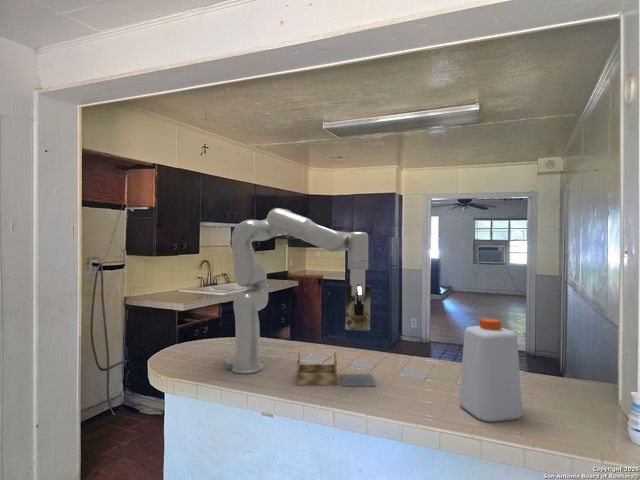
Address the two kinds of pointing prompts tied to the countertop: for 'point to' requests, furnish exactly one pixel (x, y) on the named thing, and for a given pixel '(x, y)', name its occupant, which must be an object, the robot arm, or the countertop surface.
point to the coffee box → (351, 319)
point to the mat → (357, 380)
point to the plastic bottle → (490, 372)
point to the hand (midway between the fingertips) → (357, 313)
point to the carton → (316, 373)
